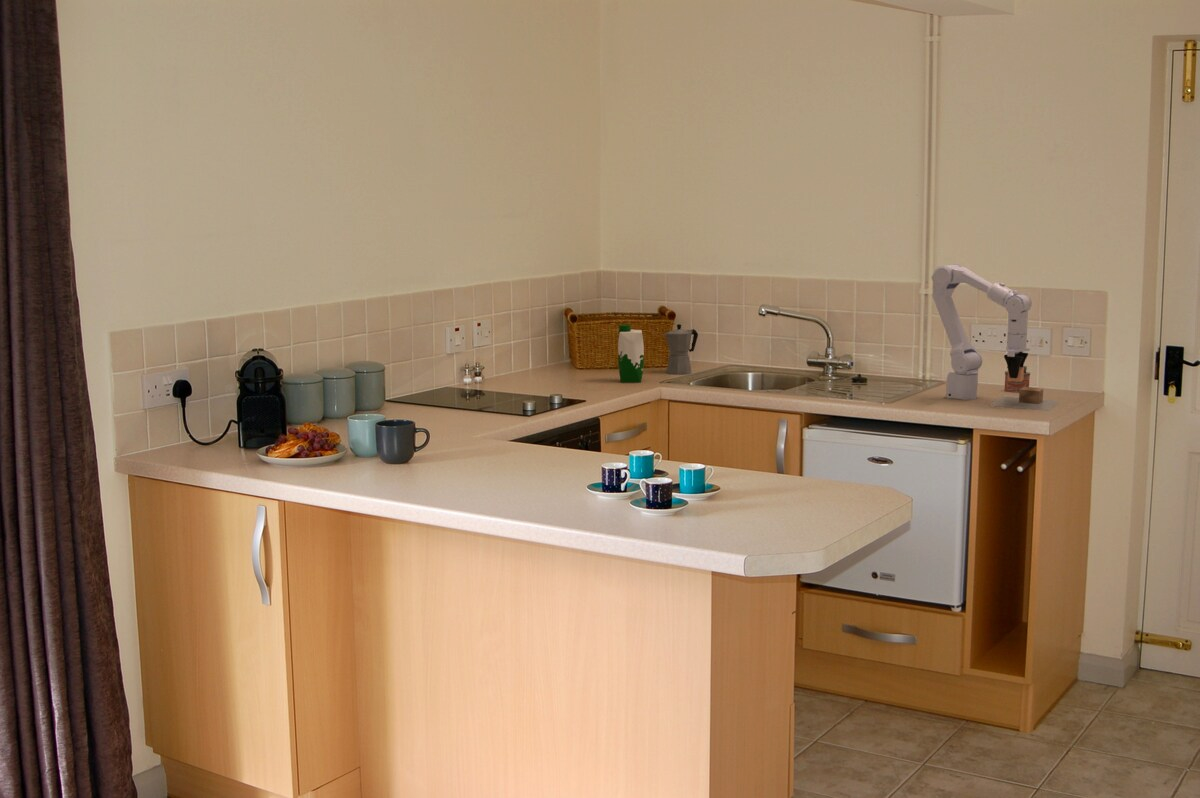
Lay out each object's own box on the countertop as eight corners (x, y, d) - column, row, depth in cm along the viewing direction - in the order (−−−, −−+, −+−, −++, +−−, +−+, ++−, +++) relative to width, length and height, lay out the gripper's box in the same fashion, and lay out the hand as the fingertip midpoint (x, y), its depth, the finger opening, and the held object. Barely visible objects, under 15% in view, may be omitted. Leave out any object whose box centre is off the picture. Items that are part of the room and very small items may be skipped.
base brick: (1018, 402, 403) (1019, 389, 402) (1023, 399, 408) (1023, 386, 407) (1038, 403, 400) (1039, 391, 399) (1042, 400, 405) (1043, 388, 404)
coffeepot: (672, 376, 466) (673, 326, 463) (656, 372, 473) (656, 324, 470) (705, 372, 475) (705, 323, 471) (689, 369, 482) (689, 321, 479)
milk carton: (618, 379, 460) (618, 323, 456) (643, 379, 459) (643, 323, 456) (618, 383, 451) (618, 326, 447) (644, 383, 451) (643, 326, 447)
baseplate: (988, 408, 398) (988, 405, 398) (1001, 399, 413) (1002, 396, 413) (1048, 413, 389) (1049, 410, 389) (1060, 404, 404) (1060, 401, 404)
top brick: (1007, 380, 399) (1007, 368, 398) (1010, 378, 402) (1010, 366, 401) (1020, 381, 396) (1021, 368, 396) (1023, 379, 400) (1024, 367, 399)
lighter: (1029, 394, 422) (1031, 364, 420) (1028, 396, 419) (1030, 365, 417) (1004, 392, 426) (1005, 363, 424) (1003, 394, 423) (1004, 364, 421)
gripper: (1025, 336, 389) (1023, 381, 391) (1035, 331, 401) (1033, 374, 403) (1001, 335, 392) (999, 379, 394) (1012, 330, 404) (1010, 372, 407)
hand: (1015, 376), depth 399 cm, fingers closed on top brick, 4 cm apart
